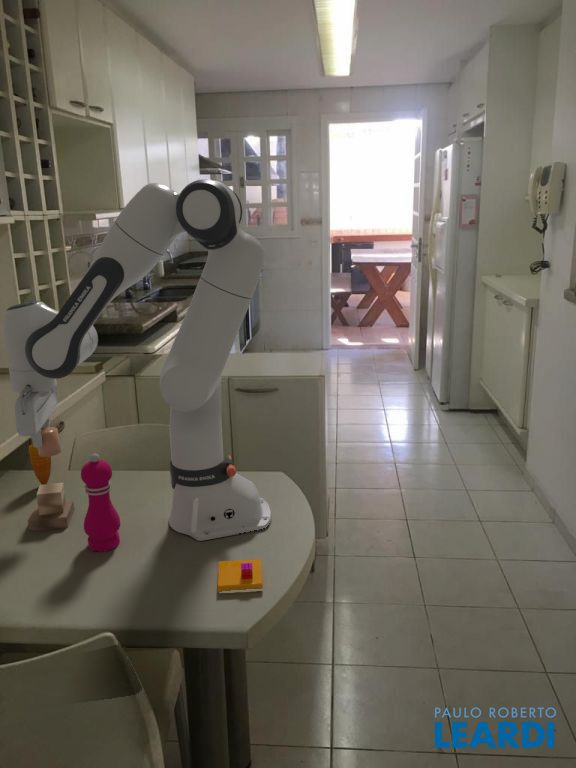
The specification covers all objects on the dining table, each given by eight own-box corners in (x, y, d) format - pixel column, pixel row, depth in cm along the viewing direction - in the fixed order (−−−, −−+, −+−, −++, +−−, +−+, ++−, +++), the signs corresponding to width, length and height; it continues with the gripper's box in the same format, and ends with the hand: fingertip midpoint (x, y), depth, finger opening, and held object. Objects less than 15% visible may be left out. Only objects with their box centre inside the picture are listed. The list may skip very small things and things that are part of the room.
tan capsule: (63, 447, 139) (59, 426, 137) (58, 455, 134) (54, 433, 133) (41, 449, 138) (37, 428, 137) (36, 457, 134) (32, 436, 132)
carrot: (29, 487, 156) (21, 430, 152) (47, 479, 160) (39, 424, 156) (41, 491, 154) (33, 434, 149) (59, 484, 158) (51, 428, 153)
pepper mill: (96, 533, 134) (86, 446, 128) (128, 536, 133) (119, 448, 127) (79, 551, 127) (68, 460, 122) (112, 554, 126) (103, 462, 120)
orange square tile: (218, 596, 113) (217, 576, 111) (219, 571, 120) (218, 551, 119) (262, 594, 113) (262, 573, 112) (261, 568, 121) (260, 549, 120)
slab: (74, 512, 145) (73, 500, 144) (68, 529, 137) (66, 517, 136) (38, 515, 144) (36, 503, 143) (29, 532, 136) (27, 520, 135)
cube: (65, 502, 143) (63, 482, 141) (63, 512, 138) (60, 492, 137) (42, 505, 142) (39, 484, 140) (39, 515, 137) (36, 494, 136)
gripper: (36, 392, 122) (45, 458, 126) (59, 366, 141) (66, 424, 145) (2, 394, 121) (12, 460, 125) (30, 367, 141) (38, 425, 144)
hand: (42, 440), depth 135 cm, fingers closed on tan capsule, 4 cm apart
